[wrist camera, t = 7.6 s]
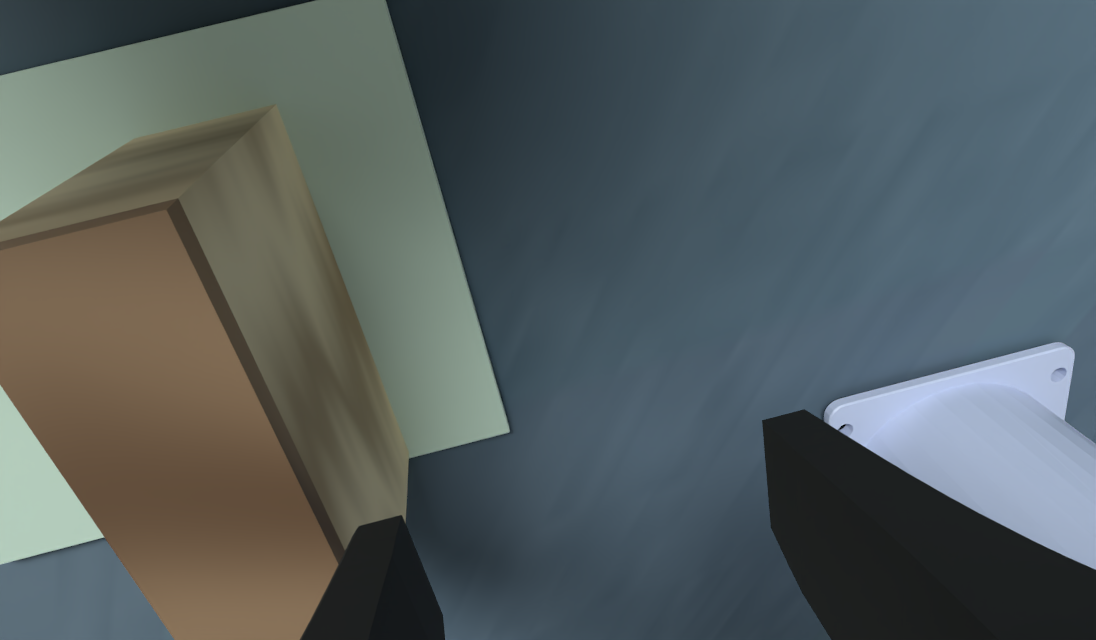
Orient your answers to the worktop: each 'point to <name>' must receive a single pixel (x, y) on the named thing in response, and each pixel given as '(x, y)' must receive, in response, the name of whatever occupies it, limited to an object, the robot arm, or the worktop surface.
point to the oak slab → (201, 374)
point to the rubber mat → (336, 189)
